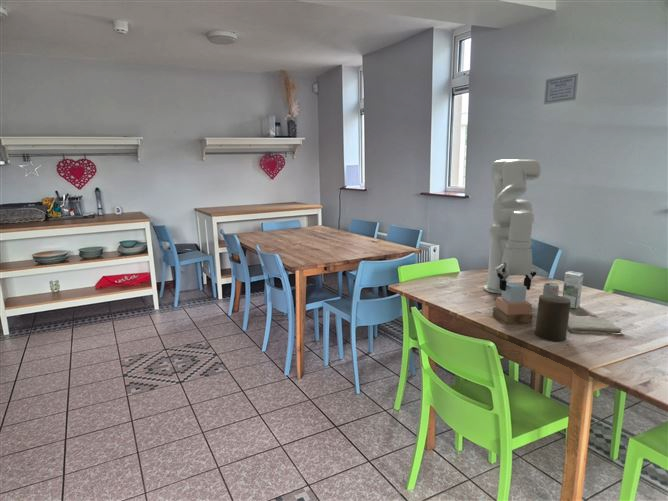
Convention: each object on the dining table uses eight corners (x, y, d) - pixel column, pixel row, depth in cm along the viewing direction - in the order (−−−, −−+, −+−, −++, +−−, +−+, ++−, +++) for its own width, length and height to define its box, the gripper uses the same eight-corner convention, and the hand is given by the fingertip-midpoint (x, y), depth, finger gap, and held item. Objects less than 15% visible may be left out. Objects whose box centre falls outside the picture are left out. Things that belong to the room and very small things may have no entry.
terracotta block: (518, 306, 166) (518, 296, 165) (530, 314, 157) (531, 303, 156) (495, 306, 165) (496, 296, 164) (507, 314, 156) (508, 304, 156)
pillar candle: (552, 344, 140) (557, 300, 137) (528, 333, 148) (532, 291, 146) (572, 339, 144) (578, 297, 141) (548, 329, 152) (553, 289, 149)
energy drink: (543, 310, 172) (546, 281, 170) (557, 313, 168) (561, 284, 166) (538, 313, 169) (541, 284, 166) (553, 317, 165) (556, 287, 162)
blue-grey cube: (515, 297, 164) (517, 282, 163) (525, 302, 158) (526, 286, 157) (501, 298, 163) (502, 282, 162) (510, 302, 157) (511, 287, 156)
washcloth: (623, 336, 148) (625, 327, 147) (570, 334, 149) (571, 325, 149) (605, 323, 160) (606, 315, 159) (555, 322, 161) (556, 314, 160)
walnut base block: (516, 315, 168) (517, 305, 167) (531, 324, 158) (532, 314, 157) (492, 316, 166) (493, 306, 165) (506, 325, 156) (507, 315, 156)
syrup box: (579, 306, 178) (584, 272, 175) (576, 309, 174) (580, 275, 171) (564, 303, 182) (568, 270, 179) (560, 306, 177) (564, 272, 174)
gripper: (534, 242, 161) (529, 285, 165) (491, 243, 159) (488, 287, 162) (546, 246, 154) (541, 291, 157) (502, 247, 151) (498, 293, 155)
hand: (514, 289), depth 160 cm, fingers open, 9 cm apart
